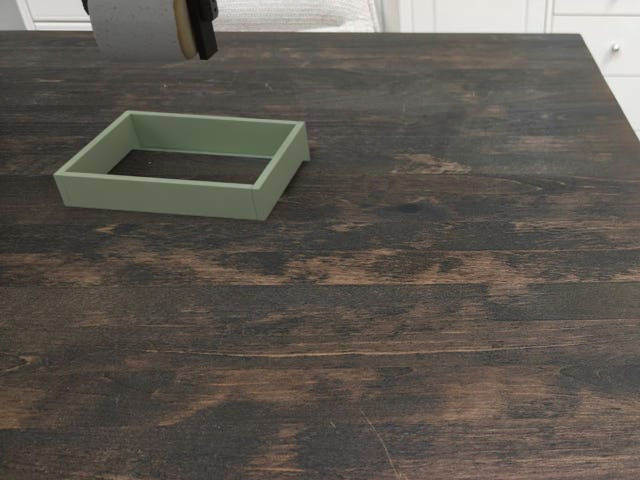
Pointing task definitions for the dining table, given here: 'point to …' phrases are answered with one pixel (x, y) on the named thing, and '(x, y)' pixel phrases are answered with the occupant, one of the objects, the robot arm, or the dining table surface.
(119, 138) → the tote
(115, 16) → the ceramic mug
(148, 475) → the dining table surface
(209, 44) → the robot arm
